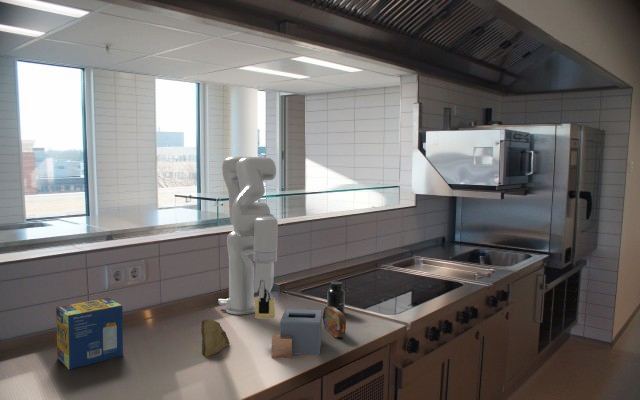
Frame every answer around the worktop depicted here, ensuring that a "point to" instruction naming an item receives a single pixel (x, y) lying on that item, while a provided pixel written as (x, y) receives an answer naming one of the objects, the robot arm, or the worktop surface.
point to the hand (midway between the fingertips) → (264, 311)
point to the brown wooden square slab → (282, 346)
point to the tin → (334, 321)
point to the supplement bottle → (336, 296)
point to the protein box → (89, 332)
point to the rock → (212, 337)
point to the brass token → (271, 309)
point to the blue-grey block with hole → (303, 329)
